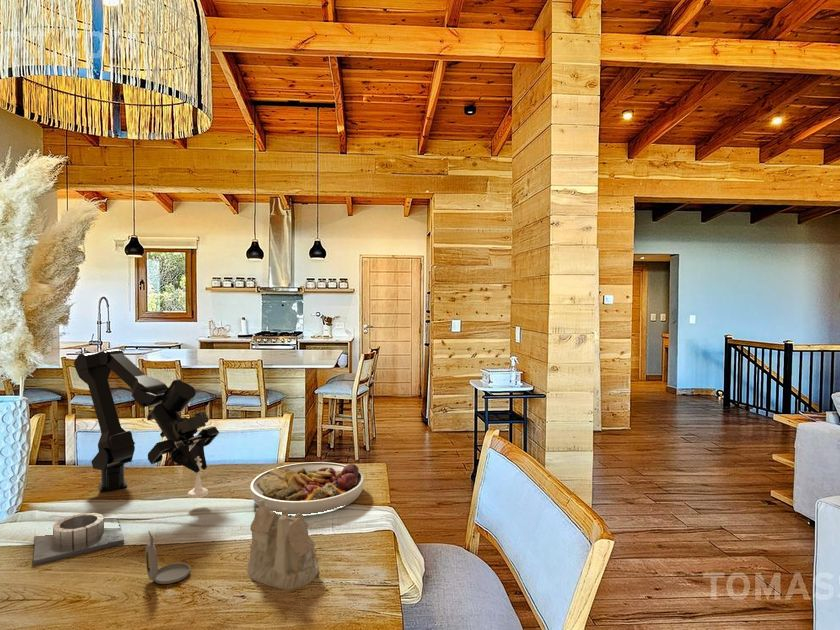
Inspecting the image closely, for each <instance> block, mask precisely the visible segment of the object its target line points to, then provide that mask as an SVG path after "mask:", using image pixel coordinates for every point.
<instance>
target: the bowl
mask: <svg viewBox="0 0 840 630" xmlns="http://www.w3.org/2000/svg"><path fill="white" fill-rule="evenodd" d="M364 482H365V477H364V475H363V473H362V471H361V470H359V467H358V466H357V465H356V464H353V463H350V464H347V465H346V464H342V463H337V462H330V461H329V462H326V461H314V462H311V461H310V462H298V463H290V464H286V465H282V466H278V467H274V468H271V469H268V470H266V471H264V472H262V473H260V474H258V475H257V476H255V478H254V479H253V480H252V481H251V483H250V488H249V489H250V496H251V498H252V501H253V502H254V503H255V504H256V505H257V506H258V507H259V504H258V501H259V500H260V499H264V501H265V503H264V504H265V505H268V509H269V511H276V512H282V509H283V508H287V509H288V514H298V513H300V514H311V513H318V512H324V511H327V510H331V509H334V508H337V507H340V506H344V505H347V506H348V505H350V504H352V503H353V502H354V501H355V500H356V499H358V497H359V496H360V494H361V493H362V491H363V489H364Z"/></svg>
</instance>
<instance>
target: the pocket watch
mask: <svg viewBox="0 0 840 630" xmlns="http://www.w3.org/2000/svg"><path fill="white" fill-rule="evenodd" d="M147 533H148V535H149V541H150V542H148V543H147V544H146V545H145V565H146V566H145V567H146V573H147V577H148V579H149V580H152V581H153V582H155V583H156V584H159V585H160V584H161V585H168V584H169V585H170V584H173V583H176V582H179V581H182V580H184V579H185V578H186V577H188V575H189V574H190V573H191V566H190V565H189V564H187V563H185V562H175V563H169V564H166V565H163V566H161V567H159V560H158V553H157V548H156V545H155V543H154V540H155V538H154V535H152V534H151V531H150V530H148V532H147Z"/></svg>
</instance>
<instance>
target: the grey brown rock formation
mask: <svg viewBox="0 0 840 630" xmlns="http://www.w3.org/2000/svg"><path fill="white" fill-rule="evenodd" d="M264 503H265V501H264V499H260V500H259V501H258V504H259V506H258V507H256V508H255V513H254V517H253V520H252V522H251V524H250V531H251V539H252V541H251V544H250V545H249V549H250V551H249V561H248V563H247V569H246V571H247V572H246V573H247V576H248V577H249V578H250V580H253V581H255V582H258V583H261V584H264V585H266V586H269V587H272V588H276V589H279V590H283V591H286V590H287V591H292V590H297V589H300V588H303V587H304V586H307V585H308V584H309V583H311V582H312V581H313V580H314V579H315V578H316V577H317V575H318V574H319V571H320V570H319V565H318V559H317V554H316V549H315V546H316V545H315V542H314V540H313V539H312V538H311V537H310V535H309V532H308V531H309V530H308V528H309V527H310V526H309V524H308V522H307V521H306V519H305V518H304V517H305V516H303V515H302V514H300V513H298V514H296V515H295V516H288V509H287V508H283V509H282V515H278V514H276V513H275V512H273V511H269V509H268V505H265V504H264Z"/></svg>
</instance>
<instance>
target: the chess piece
mask: <svg viewBox="0 0 840 630" xmlns="http://www.w3.org/2000/svg"><path fill="white" fill-rule="evenodd" d="M195 461H197V465H198V467H199V469H200V471H199V472H197V473H196V472H194V471H193V475H194V476H195V480H194V481H195V482H194V487H193V489H190V490H189V491H188V492H187V497H188V498H190V499H199V498H203V497H206V496H208V494H209V490H208V489H207V488H206V487H203V486H202V481H201V475H202V474H203V471H202V468H201V466H202V463H200V462H199V461H201V459H199V456H197V458H195Z"/></svg>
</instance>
